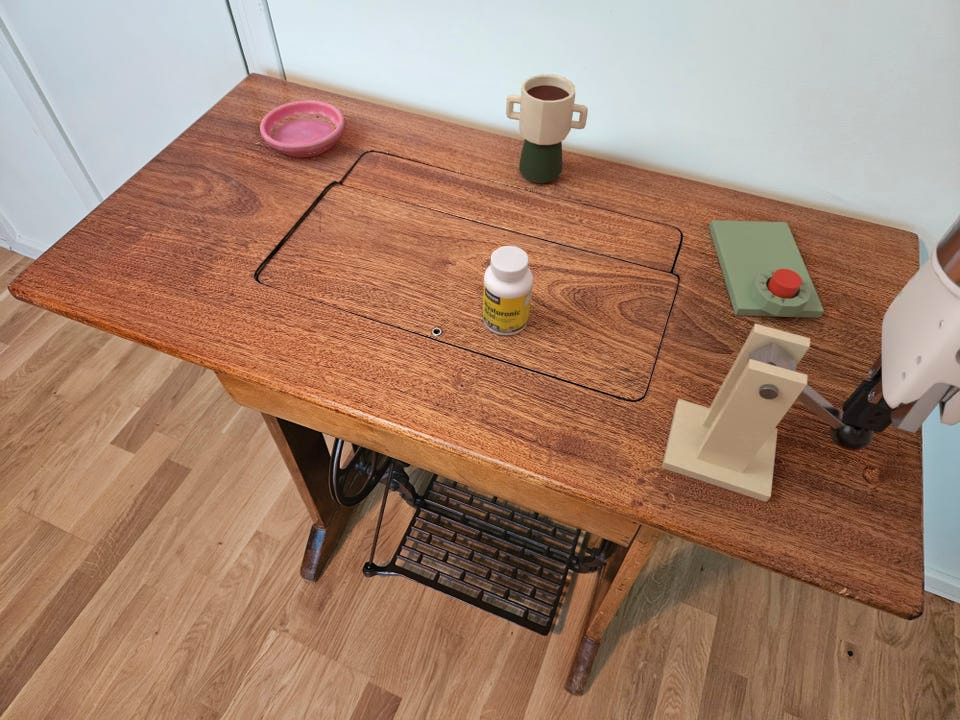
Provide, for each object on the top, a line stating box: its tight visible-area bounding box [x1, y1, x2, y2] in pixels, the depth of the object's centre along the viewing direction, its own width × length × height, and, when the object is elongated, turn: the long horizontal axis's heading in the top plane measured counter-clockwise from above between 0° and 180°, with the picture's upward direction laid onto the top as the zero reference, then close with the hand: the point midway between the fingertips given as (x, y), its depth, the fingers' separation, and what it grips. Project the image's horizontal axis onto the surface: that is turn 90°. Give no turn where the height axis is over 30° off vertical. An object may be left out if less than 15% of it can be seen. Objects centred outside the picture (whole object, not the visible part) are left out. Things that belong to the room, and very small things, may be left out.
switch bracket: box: [661, 323, 811, 503], centre depth 56 cm, size 10×8×16 cm
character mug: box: [505, 73, 589, 184], centre depth 85 cm, size 11×7×13 cm, turn 75°
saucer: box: [259, 99, 346, 158], centre depth 93 cm, size 12×12×3 cm
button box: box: [708, 219, 825, 319], centre depth 77 cm, size 17×10×3 cm, turn 178°
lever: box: [748, 342, 874, 452], centre depth 52 cm, size 13×3×3 cm, turn 69°
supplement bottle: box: [482, 245, 534, 336], centre depth 69 cm, size 5×5×10 cm
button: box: [768, 269, 802, 299], centre depth 72 cm, size 3×3×2 cm
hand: (860, 419), depth 52 cm, fingers closed
